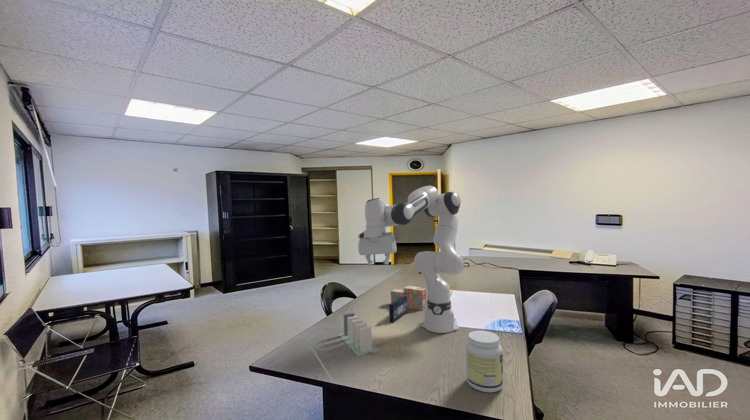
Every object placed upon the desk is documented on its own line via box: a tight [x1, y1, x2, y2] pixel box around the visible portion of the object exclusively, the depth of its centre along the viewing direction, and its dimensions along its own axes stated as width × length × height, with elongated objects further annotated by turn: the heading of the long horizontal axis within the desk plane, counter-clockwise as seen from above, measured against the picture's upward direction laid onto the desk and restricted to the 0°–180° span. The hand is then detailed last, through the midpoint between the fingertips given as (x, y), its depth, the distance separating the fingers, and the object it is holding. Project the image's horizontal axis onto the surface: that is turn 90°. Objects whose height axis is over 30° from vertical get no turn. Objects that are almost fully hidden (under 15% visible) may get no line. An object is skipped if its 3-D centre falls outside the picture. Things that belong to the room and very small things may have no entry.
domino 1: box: [343, 312, 355, 336], centre depth 156 cm, size 2×5×10 cm, turn 116°
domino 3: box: [351, 318, 363, 344], centre depth 146 cm, size 2×5×10 cm, turn 116°
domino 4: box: [355, 322, 368, 348], centre depth 142 cm, size 2×5×10 cm, turn 116°
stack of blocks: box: [390, 285, 427, 311], centre depth 197 cm, size 21×6×12 cm, turn 60°
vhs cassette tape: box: [388, 296, 408, 324], centre depth 178 cm, size 18×3×10 cm, turn 148°
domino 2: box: [347, 315, 359, 339], centre depth 151 cm, size 2×5×10 cm, turn 116°
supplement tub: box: [465, 330, 504, 393], centre depth 111 cm, size 12×12×17 cm
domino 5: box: [359, 325, 373, 353], centre depth 138 cm, size 2×5×10 cm, turn 116°
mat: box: [338, 332, 379, 357], centre depth 147 cm, size 25×10×1 cm, turn 26°
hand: (378, 264), depth 141 cm, fingers open, 8 cm apart
